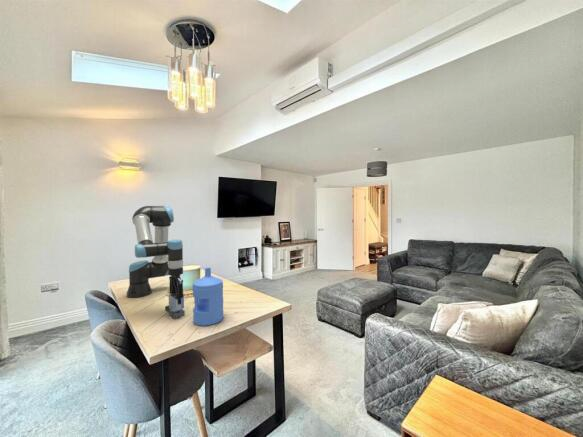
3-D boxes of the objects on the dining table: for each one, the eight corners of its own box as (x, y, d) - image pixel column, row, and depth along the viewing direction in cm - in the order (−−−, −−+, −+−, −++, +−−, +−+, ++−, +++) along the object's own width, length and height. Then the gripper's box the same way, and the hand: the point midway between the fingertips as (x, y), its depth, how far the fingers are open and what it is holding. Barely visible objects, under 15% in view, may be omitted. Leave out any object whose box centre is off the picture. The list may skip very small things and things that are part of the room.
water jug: (215, 311, 143) (214, 264, 142) (228, 319, 131) (228, 268, 130) (188, 319, 132) (187, 268, 131) (200, 329, 120) (199, 273, 120)
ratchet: (162, 310, 144) (162, 297, 144) (173, 307, 148) (172, 294, 148) (173, 319, 132) (173, 304, 132) (184, 315, 136) (184, 301, 136)
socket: (168, 308, 136) (168, 294, 136) (179, 305, 141) (179, 291, 141) (173, 311, 132) (172, 297, 132) (184, 308, 137) (183, 294, 136)
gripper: (162, 265, 140) (163, 305, 140) (175, 271, 127) (176, 315, 127) (175, 263, 145) (176, 302, 146) (189, 268, 132) (190, 310, 133)
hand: (176, 307), depth 137 cm, fingers closed on socket, 6 cm apart
